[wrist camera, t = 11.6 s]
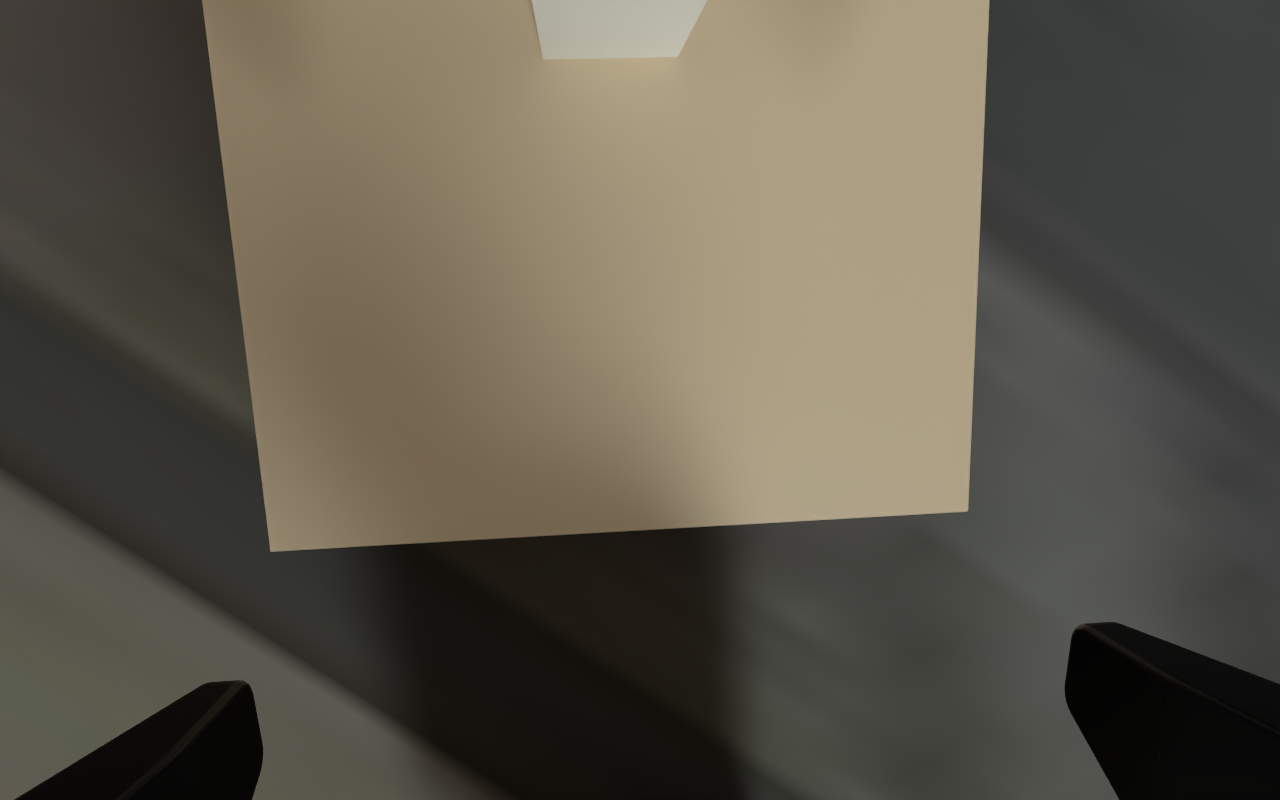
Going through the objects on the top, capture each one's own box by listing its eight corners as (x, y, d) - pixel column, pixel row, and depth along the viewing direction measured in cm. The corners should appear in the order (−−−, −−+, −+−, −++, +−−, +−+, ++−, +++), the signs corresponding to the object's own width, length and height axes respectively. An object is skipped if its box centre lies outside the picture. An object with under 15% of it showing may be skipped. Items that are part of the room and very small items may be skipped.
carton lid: (955, 503, 18) (1166, 647, 11) (281, 541, 17) (99, 721, 11) (979, -121, 16) (1260, -378, 9) (201, -116, 15) (-96, -402, 8)
